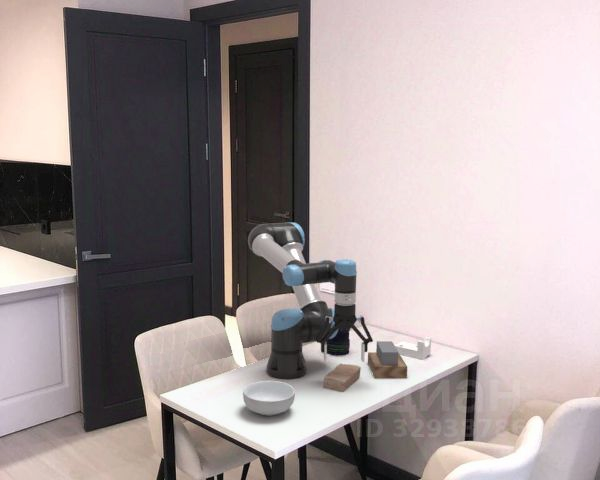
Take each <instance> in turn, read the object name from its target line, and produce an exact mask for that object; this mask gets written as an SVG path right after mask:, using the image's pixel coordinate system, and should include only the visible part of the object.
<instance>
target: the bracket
mask: <svg viewBox="0 0 600 480" xmlns="http://www.w3.org/2000/svg"><path fill="white" fill-rule="evenodd" d="M394 346H395V347H396V349H397V351H398V353H399V354H400V356H403V357H409V358H413V359H416V360H421V361H424V360H425V359H427V356H428V357H429V355H431V352H432V351H431V349H432V338H431V337H427V336H425V337H424V338H423V341H421V340H417V344H415V343H409V342H407V341H400V342H399V343H397V344H394Z"/></svg>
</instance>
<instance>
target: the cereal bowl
mask: <svg viewBox="0 0 600 480" xmlns="http://www.w3.org/2000/svg"><path fill="white" fill-rule="evenodd" d="M242 397H243V398H242V399H243V402H244V404H245V406H246V407H247V408H248V410H250V411H252V412H254V413H256V414H259V415H262V416H266V417H267V416H269V417H270V416H275V415H276V416H277V415H279V414H281V413H284V412H286V411H287V410H289V409H290V408H291V407H292V406H293V404H294V402H295V398H296V389H295V388H294V387H293V386H292V385H291V384H289V383H286V382H284V381H280V380H261V381H260V380H259V381H255V382H252V383H249V384H247V385H246V386H244V388H243V391H242Z"/></svg>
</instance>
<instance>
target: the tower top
mask: <svg viewBox="0 0 600 480" xmlns="http://www.w3.org/2000/svg"><path fill="white" fill-rule="evenodd" d="M375 350H376V351H375V352H376V354H377V356H378V358H379V361H380V363H381V365H398V351H397V349H396V347H395V344H394V342H393V341H390V340H388V341H385V340H383V341H381V340H380V341H376V349H375Z"/></svg>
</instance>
